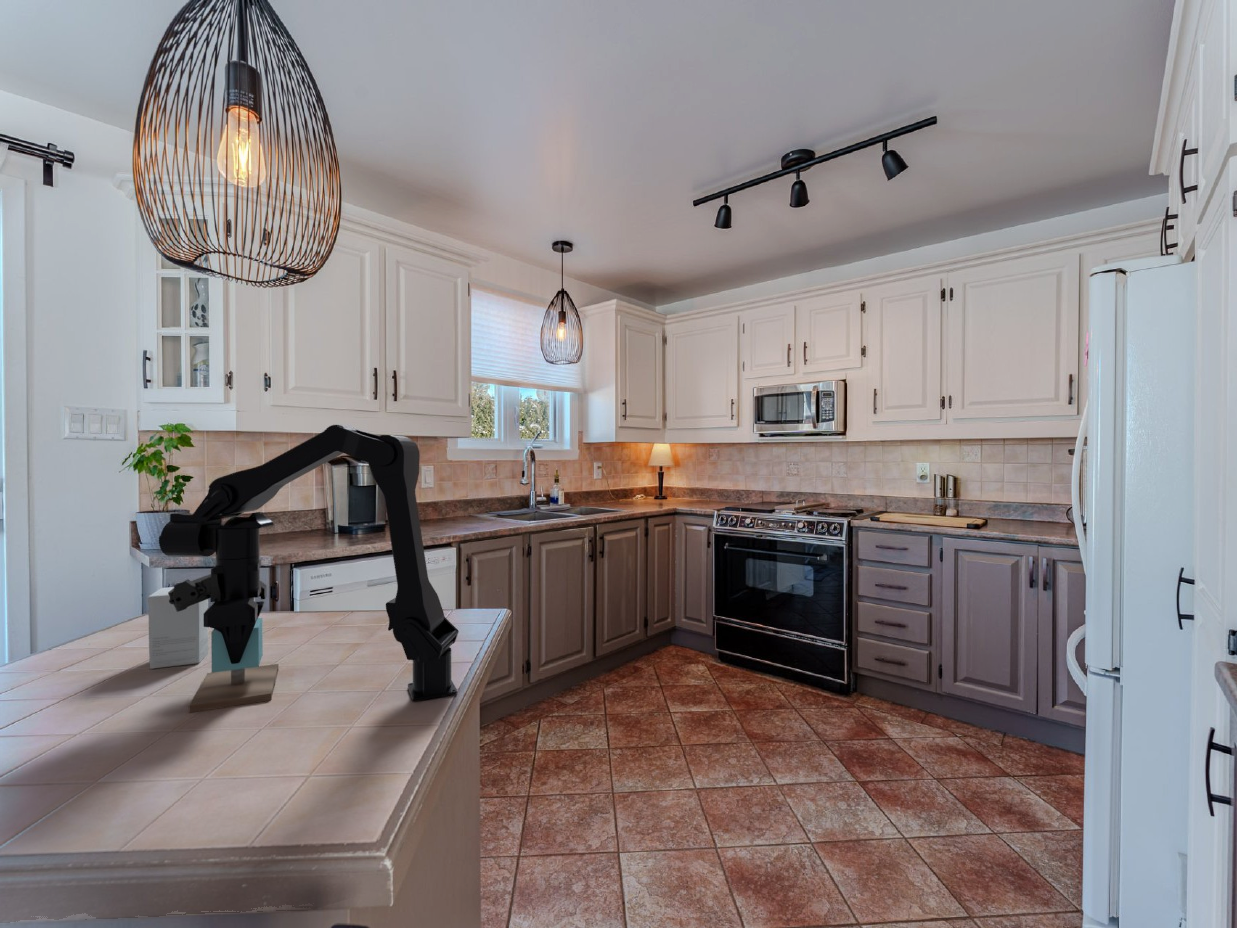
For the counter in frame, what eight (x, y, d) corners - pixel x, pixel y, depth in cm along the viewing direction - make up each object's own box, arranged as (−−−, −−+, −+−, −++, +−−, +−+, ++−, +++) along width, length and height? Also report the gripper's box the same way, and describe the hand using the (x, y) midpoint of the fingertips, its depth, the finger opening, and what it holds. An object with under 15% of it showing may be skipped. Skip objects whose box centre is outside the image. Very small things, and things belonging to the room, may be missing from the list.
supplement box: (210, 651, 109) (210, 583, 109) (199, 664, 102) (199, 591, 102) (161, 656, 106) (161, 586, 106) (147, 669, 100) (146, 595, 100)
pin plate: (271, 699, 87) (271, 666, 87) (189, 712, 83) (189, 677, 83) (278, 669, 100) (278, 640, 100) (207, 679, 95) (207, 648, 95)
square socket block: (258, 666, 90) (258, 627, 90) (211, 672, 87) (211, 632, 87) (262, 654, 95) (262, 617, 95) (218, 660, 93) (218, 622, 93)
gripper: (187, 551, 96) (187, 646, 96) (157, 571, 79) (158, 686, 79) (266, 547, 101) (266, 637, 101) (254, 564, 84) (254, 673, 84)
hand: (238, 656), depth 91 cm, fingers closed on square socket block, 6 cm apart
